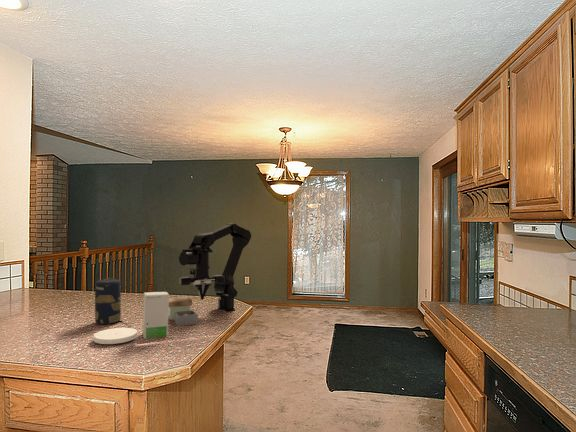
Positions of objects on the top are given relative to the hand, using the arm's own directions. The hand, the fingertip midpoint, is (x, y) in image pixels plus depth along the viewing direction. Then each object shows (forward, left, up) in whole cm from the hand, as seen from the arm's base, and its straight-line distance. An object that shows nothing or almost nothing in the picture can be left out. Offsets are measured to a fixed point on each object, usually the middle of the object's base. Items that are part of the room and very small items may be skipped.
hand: (202, 299), depth 173 cm
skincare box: (+22, +23, -7) cm, 33 cm away
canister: (+37, -5, -7) cm, 38 cm away
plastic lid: (+35, +21, -8) cm, 41 cm away
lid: (+10, 0, -1) cm, 10 cm away
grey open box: (+9, +11, -7) cm, 16 cm away
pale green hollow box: (+10, 0, -7) cm, 12 cm away
